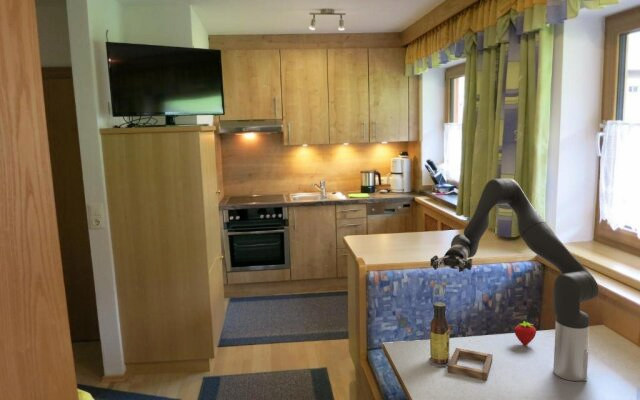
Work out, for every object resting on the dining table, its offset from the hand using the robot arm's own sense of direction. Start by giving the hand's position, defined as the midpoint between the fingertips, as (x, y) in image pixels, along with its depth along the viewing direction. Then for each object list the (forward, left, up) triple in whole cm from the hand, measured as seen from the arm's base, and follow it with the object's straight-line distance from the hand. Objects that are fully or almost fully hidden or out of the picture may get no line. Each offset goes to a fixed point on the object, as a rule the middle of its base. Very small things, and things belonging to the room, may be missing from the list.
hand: (447, 268), depth 163 cm
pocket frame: (-10, +10, -30) cm, 33 cm away
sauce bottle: (0, +11, -29) cm, 31 cm away
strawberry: (-25, -13, -30) cm, 41 cm away
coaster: (0, +11, -30) cm, 32 cm away
